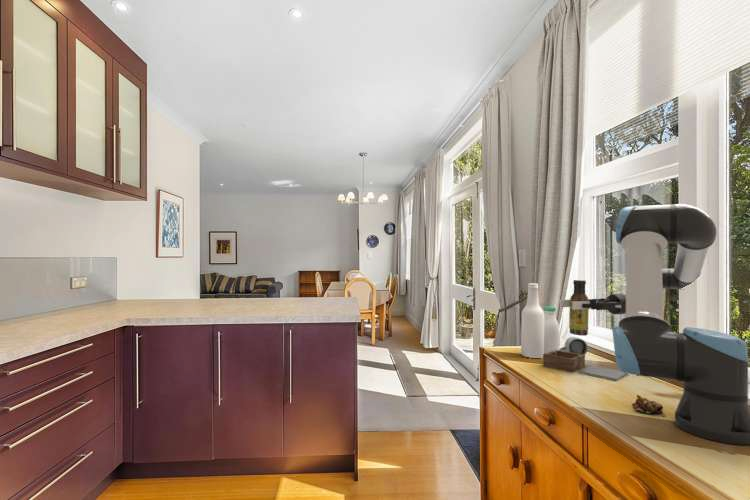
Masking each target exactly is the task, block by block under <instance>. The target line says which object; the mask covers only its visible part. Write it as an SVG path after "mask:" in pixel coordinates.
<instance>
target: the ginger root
mask: <svg viewBox="0 0 750 500" xmlns="http://www.w3.org/2000/svg"><path fill="white" fill-rule="evenodd" d="M636 397H637V398H636V399H635V402H633V403H632V404H631V407H632V408H633V409H634V410H636V411H638V410H639V411H640V412H642V413H647V414H651V413H653V412H654V413H657V414H660V415H661V417H662V418H667V416H666V414H664V413H665V412H663V408H664V406H663V405H662V404H661V403H658V402H657V401H655V400H649V399H647V397H642V396H641V395H639V394H636Z"/></svg>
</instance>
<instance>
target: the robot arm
mask: <svg viewBox="0 0 750 500" xmlns="http://www.w3.org/2000/svg"><path fill="white" fill-rule="evenodd" d="M618 213H619V214H618V217H617V221H616V228H615V242H616V243H617V244H620V245H621V248H622V250H624V251H625V252H626V267H625V268H626V272H625V273H626V274H625V275H626V276H625V280H626V282H625V293H611V294H609V295H608V296H607V297H606V298H602V297H601V298H588V300H589V302H573V303H572V309H589V310H593V311H594V310H597V311H608V312H609V313H610V314H612V315H624V317H622V318H621V319H620V320H619V322H618V325H617V326H613V327H612V340H613V348H614V357H615V363H616V368H617V370H619V371H622V372H624V373H628V374H629V375H636V376H637V377H647V378H656V379H662V380H669V381H675V382H676V381H677V382H682V383H683V392H682V395H681V396H680V397H681V398H680V399H679V401H678V404H677V407H676V409H675V412H674V424H675V425H676V426H677V427H678V428H679V429H681V430H683V431H685V432H687V433H689V434H691V435H694V436H698V437H700V438H704V439H707V440H711V441H715V442H719V443H725V444H730V445H742V446H743V445H744V446H747V445H748V446H749V445H750V406H749V362H750V359H749V353H748V352H749V351H748V345H747V343H746V341H744V340H743V339H741V338H739V337H737V336H735V335H731V334H728V333H726V332H725V333H724V332H721V331H715V330H710V329H706V328H699V327H690V326H687V327H686V326H685V327H684V329H682V332H675V331H672V325H671V323H669V322H668V321H667V320H666V319H665V316H664V312H665V311H664V289H667V290H669V289H670V290H682V289H681V288H683V287H685V286H687V285H689V284H691V283H692V282H694V281H695V280H696V279H697V278H698V277H699V276H700V274H701V271H702V269H703V266H704V264H705V260H706V257H707V254H708V250H709V247H711V246H713V244H715V240H716V237H717V227H716V224H715V221H714V220H713V219H712V218H711V217H710V215H708V213H706V212H705V211H703V210H702V209H700V208H698V207H696V206H694V205H690V204H684V203H674V204H654V205H651V204H650V205H634V206H626V207H622V208H621V210H620V211H619V212H618ZM668 244H677V248H676V250H677V251H676V256H675V262H674V267H673V268H669V267H667V268H666V267H663V258H662V255H663V251H665V250H666V249H667V247H668ZM559 307H560V308H570V299H560V300H559Z"/></svg>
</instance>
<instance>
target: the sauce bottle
mask: <svg viewBox="0 0 750 500" xmlns="http://www.w3.org/2000/svg"><path fill="white" fill-rule="evenodd" d="M572 283H573V292H572V295H571V296H570V298H569V300H570V307H569V312H568V313H569V318H568V320H569V321H568V323H569V325H568V327H569V328H568V329H569V334H571V335H575V336H584V337H585V336H588V334H589V331H588V330H589V310H590V309H572V303H573V302H589V300H588V299H589V298H588V296H587V294H586V285H587V280H585V279H573V282H572Z"/></svg>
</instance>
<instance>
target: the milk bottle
mask: <svg viewBox="0 0 750 500" xmlns="http://www.w3.org/2000/svg"><path fill="white" fill-rule="evenodd" d="M543 311H544V354H545V353H548V352H551V351H554V350H559V349H560V324H559V322H558V320H557V317H556V307H554V306H543Z"/></svg>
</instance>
